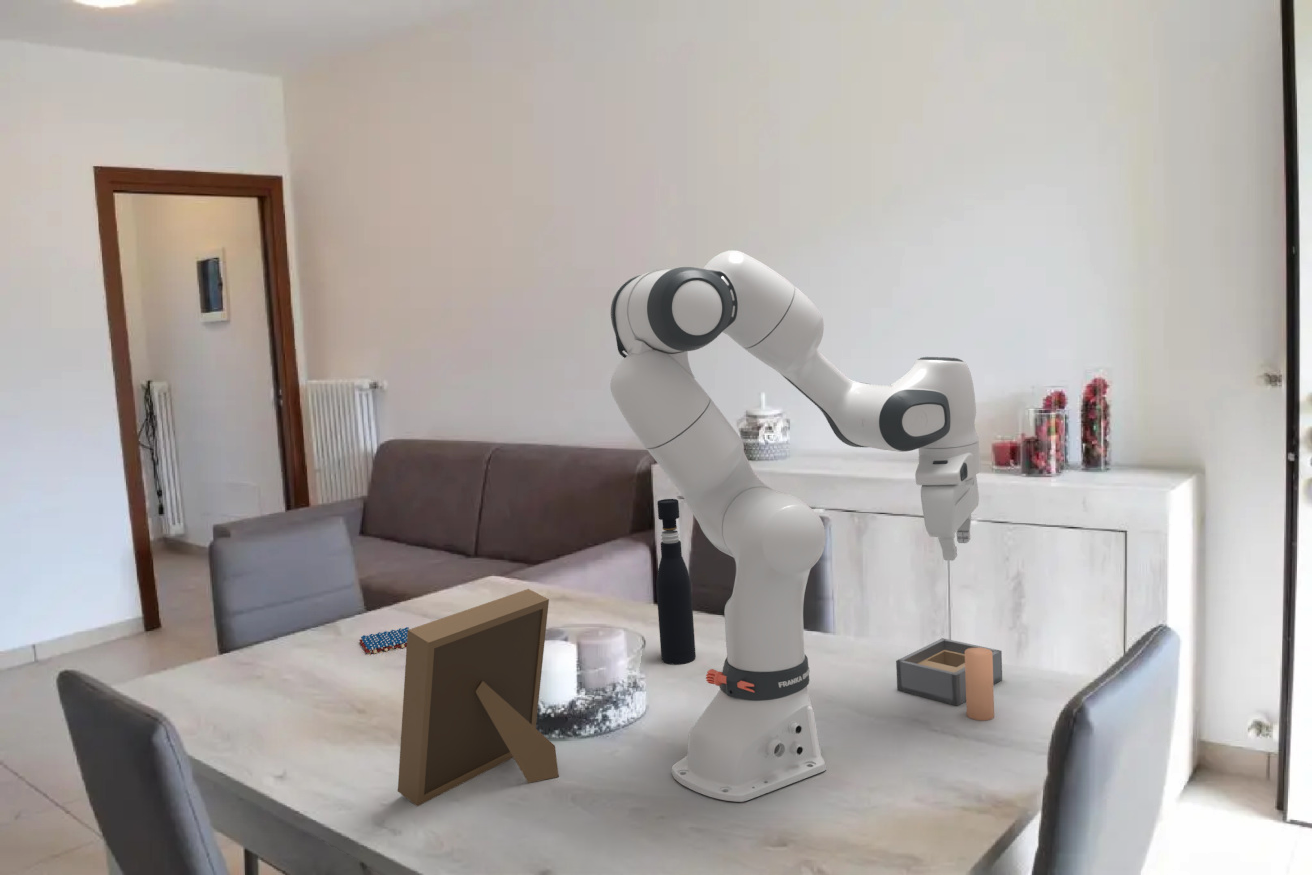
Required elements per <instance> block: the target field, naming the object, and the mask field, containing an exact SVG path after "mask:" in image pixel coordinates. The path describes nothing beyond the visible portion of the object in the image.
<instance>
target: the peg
mask: <svg viewBox="0 0 1312 875" xmlns="http://www.w3.org/2000/svg"><path fill="white" fill-rule="evenodd" d="M986 648H987V647H986ZM986 648H969V649H966V650H965V678H966V701H965V702H966V704H965V706H966V709H965V710H966V717H967V718H969V719H971V720H975V721H981V722H982V721H990V720H992V719H993V718H995V701H994V700H995V698H994V697H995V693H994V685H993V656H992V651H991V650H989V649H986Z"/></svg>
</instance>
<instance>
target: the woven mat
mask: <svg viewBox="0 0 1312 875" xmlns="http://www.w3.org/2000/svg"><path fill="white" fill-rule="evenodd" d="M409 629H410V627H409V626H408V627H405V628H404V627H402V628H398V629H396V630H394V629H391V630H388V631H387V630H385V631H381V632H380V631H379V632H377V633H375V634H373V633H370V634H367V635H365V634H364V635H362V636H360V638H361V639H359V640H358V641H359V645H360V646H361V647H362V648H363V651H364V652H365V653H366V654H367V655H368V656H371V655H372V654H374V655H376V654H378V653H380V654H383V651H384V652H386V653H387V652H388V651H394V649H396V650H400V649H405V648H407V633H408V630H409Z"/></svg>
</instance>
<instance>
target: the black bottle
mask: <svg viewBox="0 0 1312 875" xmlns="http://www.w3.org/2000/svg"><path fill="white" fill-rule="evenodd" d="M656 505H657V514H658V515H657V516H658V520H660V521H661V522H662V530H663V531H661V535H660V536H661V542H660V554H661V557H660V560H659V565H658V569H657V573H656V574H657V575H656V582H655V585H656V588H655V589H656V599H657V600H656V601H657V615H658V629H659V630H658V631H659V643H660V644H659V645H660V656H661V661H662V662H663V663H666V664H667V665H669V664H670V665H683V664H684V665H685V664H689V663H691V662H693V661H694V660H695V659H696V656H697V654H696V641H695V639H696V638H695V628H694V627H695V625H694V624H695V622H694V611H693V610H694V609H693V599H692V598H693V597H692V595H693V594H692V584H691V583H692V581H691V578H690V573H689V570H688V567H687V565H686V563H685V560H684V558H683V555H682V553H683V552H682V542H681V540H680V533H679V530H677V529H678V528H677V520H678V519H679V518H680V503H679V499H677V498H665V499H660V500H657V504H656Z"/></svg>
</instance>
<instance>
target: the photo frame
mask: <svg viewBox="0 0 1312 875" xmlns="http://www.w3.org/2000/svg"><path fill="white" fill-rule="evenodd" d="M549 602H550V599H549V598H547V597H545V596H543V595H541V594H539V593H537V592H535V591H534V590H532V589H529V588H527V589H524V590H521V591H518V592H515V593H512V594H510V595H506V596H503V597H500V598H498V599H497V598H496V599H495V600H492V601H489V602H486V603H482V604H479V605H477V606H474V607H471V608H468V609H465V610H462V611H460V612H456V613H454V614H451V615H448V616H444V617H441V618H438V619H436V620H433V621H430V622H427V623H424V624H420V625H418V626H415V627H413V628H412V627H411V628H409V630H408V633H407V647H406V655H405V668H404V685H403V699H402V702H403V703H402V717H401V719H402V720H401V731H400V732H401V733H400V745H399V746H400V748H399V749H400V750H399V763H398V764H399V765H398V781H397V792H398V793H399V794H400V795H402V796H403V797H405V799H407V800H408V801H410V803H412V804H414V805H415V806H416V807H419V806H421V805H423V804H424V803H427V802H430V801H431V800H433V799H434V798H437V797H438V796H441V795H443V794H444V793H447V792H448V791H450V790H452V789H454V788H456V787H459V786H460V785H463V784H464V783H466V782H468V781H470V780H472V779H474V778H476V777H478V776H480V775H482V774H485V773H486V772H488V771H490V770H491V769H494V768H495V767H498V766H500V765H501V764H504V763H506V762H507V761H510V760H512V759H514V761H515V763H516V764H517V766H518V768H519V769H520V771H521V773H522V775H523V776H524V778H525V780H526V782H527V783H528V784H530V783H532V784H533V783H537V782H540V781H545V780H551V779H555V778H559V768H558V760H557V754H556V753H557V752H556V751H557V750H556V745H555V744H554V743H553V742H551V741H550V740H549V738H547V737H546V736H545V735H544V734H543V733H542V732H540V731H539V730H538V729H537V721H538V719H537V718H538V712H539V711H538V710H539V709H538V708H539V700H540V690H541V682H542V679H541V678H542V672H543V671H542V670H543V660H544V653H545V642H546V641H545V640H546V633H547V631H546V630H547V622H548V613H549Z"/></svg>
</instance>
